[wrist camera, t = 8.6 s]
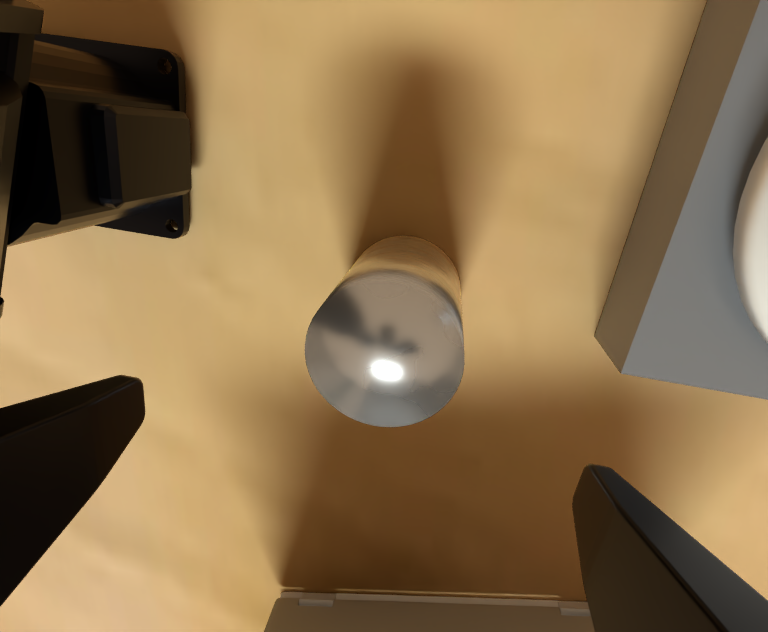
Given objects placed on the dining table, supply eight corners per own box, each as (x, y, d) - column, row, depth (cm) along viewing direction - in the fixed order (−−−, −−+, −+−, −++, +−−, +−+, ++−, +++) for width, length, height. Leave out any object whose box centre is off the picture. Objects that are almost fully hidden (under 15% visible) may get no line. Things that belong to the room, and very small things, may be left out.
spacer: (344, 331, 19) (299, 411, 14) (355, 227, 17) (310, 268, 12) (449, 350, 19) (447, 440, 13) (471, 245, 17) (479, 297, 12)
